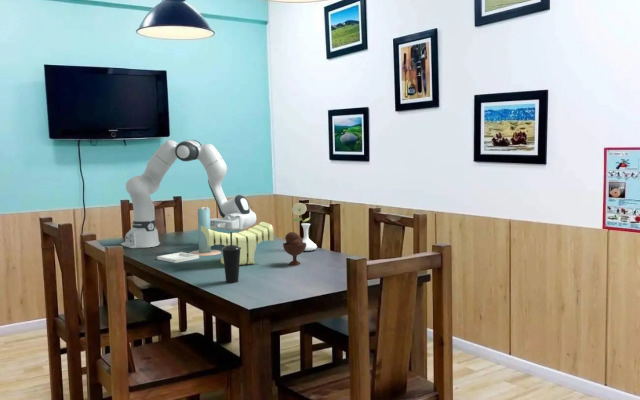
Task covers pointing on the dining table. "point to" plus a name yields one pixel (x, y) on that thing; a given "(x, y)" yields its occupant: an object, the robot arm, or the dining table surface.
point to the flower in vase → (304, 225)
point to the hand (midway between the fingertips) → (210, 224)
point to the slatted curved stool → (242, 240)
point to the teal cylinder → (205, 222)
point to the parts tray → (177, 257)
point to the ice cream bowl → (294, 246)
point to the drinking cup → (231, 261)
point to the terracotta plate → (213, 252)
